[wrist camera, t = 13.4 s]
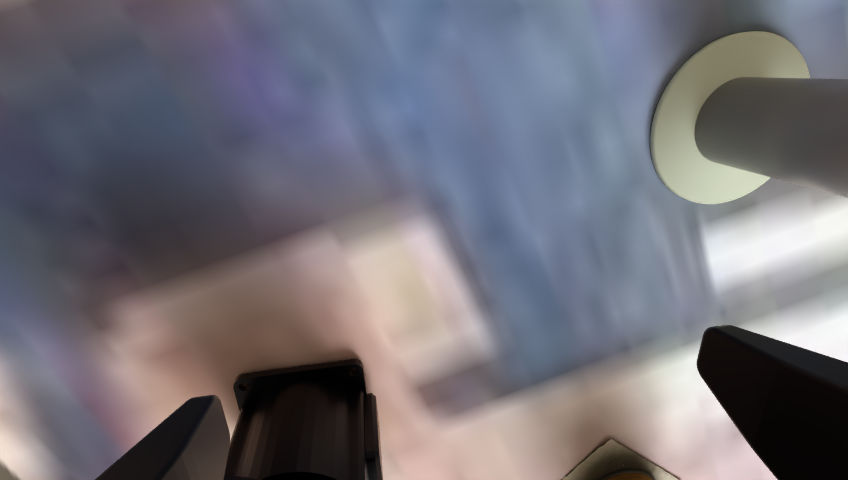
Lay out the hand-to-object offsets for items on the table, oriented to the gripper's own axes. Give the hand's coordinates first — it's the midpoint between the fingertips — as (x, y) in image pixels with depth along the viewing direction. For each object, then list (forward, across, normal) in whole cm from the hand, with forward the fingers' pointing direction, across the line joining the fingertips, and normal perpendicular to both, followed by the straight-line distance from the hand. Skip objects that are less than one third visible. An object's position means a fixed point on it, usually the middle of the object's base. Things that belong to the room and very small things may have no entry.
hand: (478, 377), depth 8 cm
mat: (+13, -16, -2) cm, 21 cm away
